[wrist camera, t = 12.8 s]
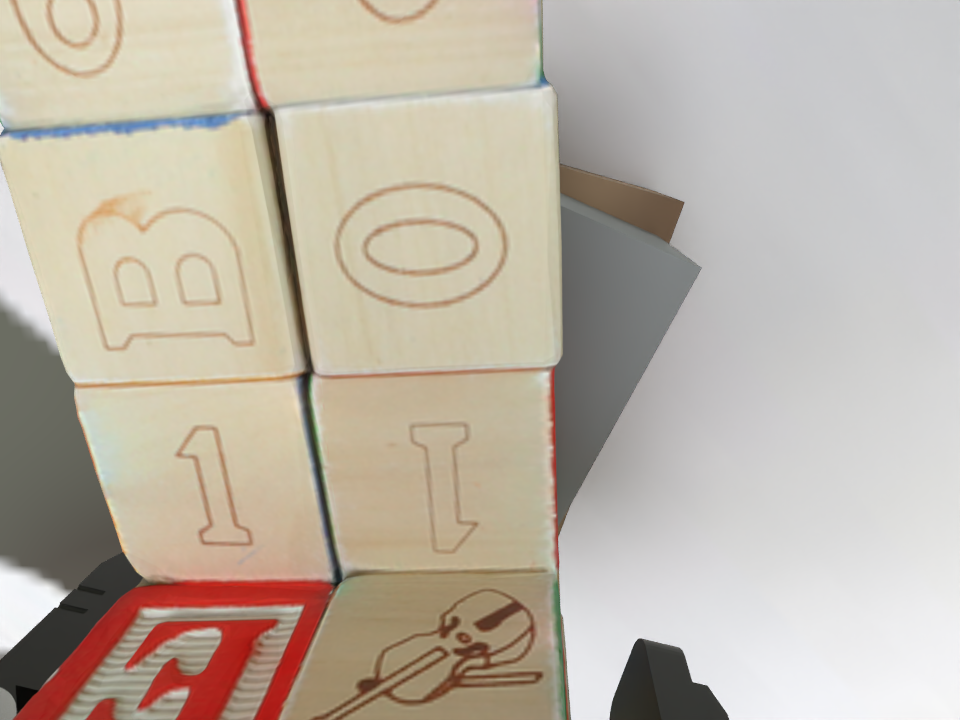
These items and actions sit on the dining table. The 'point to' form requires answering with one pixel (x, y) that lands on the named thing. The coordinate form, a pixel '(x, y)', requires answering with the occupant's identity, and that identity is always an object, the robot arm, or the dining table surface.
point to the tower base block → (622, 205)
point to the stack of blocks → (303, 347)
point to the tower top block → (607, 328)
